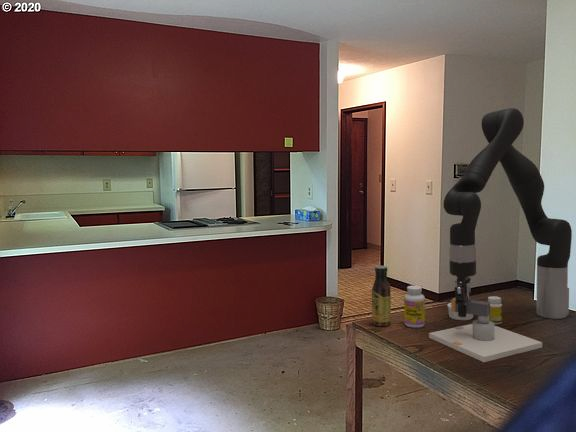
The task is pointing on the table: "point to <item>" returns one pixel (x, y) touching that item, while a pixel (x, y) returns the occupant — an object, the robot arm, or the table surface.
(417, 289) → the supplement bottle
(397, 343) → the table surface
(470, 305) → the handle
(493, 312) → the supplement bottle
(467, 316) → the ramekin
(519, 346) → the base
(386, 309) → the sauce bottle
